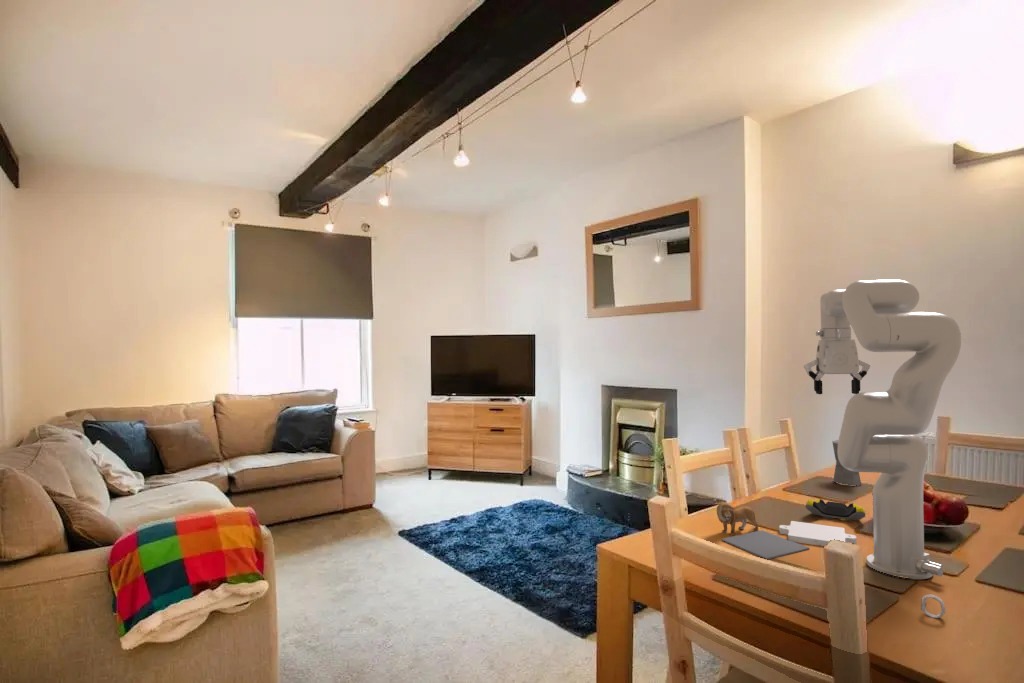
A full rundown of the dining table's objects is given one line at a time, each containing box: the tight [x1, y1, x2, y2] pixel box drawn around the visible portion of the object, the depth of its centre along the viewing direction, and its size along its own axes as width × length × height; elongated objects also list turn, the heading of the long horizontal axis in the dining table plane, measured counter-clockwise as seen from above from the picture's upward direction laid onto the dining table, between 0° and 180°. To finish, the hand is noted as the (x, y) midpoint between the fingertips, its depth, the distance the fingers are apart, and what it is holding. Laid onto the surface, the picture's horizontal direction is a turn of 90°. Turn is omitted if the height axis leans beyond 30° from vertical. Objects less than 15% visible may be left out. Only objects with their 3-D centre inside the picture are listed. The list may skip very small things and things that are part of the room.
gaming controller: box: [805, 498, 866, 522], centre depth 161 cm, size 15×6×10 cm
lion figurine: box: [716, 501, 759, 536], centre depth 151 cm, size 15×5×9 cm, turn 118°
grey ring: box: [920, 593, 946, 619], centre depth 103 cm, size 4×2×4 cm, turn 47°
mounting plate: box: [778, 520, 857, 547], centre depth 146 cm, size 18×13×2 cm
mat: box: [720, 529, 810, 560], centre depth 141 cm, size 14×15×1 cm
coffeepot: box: [831, 439, 862, 486], centre depth 198 cm, size 15×9×18 cm, turn 175°
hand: (837, 393), depth 157 cm, fingers open, 9 cm apart
